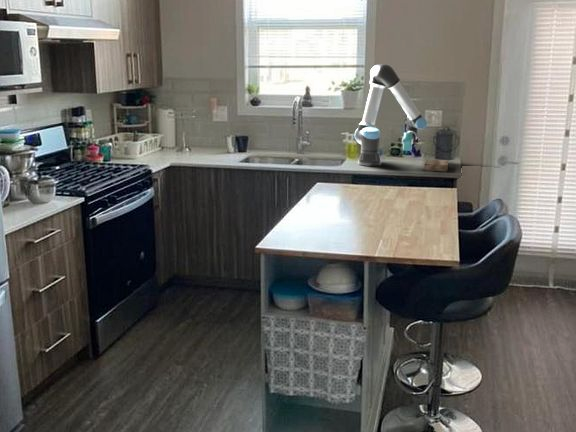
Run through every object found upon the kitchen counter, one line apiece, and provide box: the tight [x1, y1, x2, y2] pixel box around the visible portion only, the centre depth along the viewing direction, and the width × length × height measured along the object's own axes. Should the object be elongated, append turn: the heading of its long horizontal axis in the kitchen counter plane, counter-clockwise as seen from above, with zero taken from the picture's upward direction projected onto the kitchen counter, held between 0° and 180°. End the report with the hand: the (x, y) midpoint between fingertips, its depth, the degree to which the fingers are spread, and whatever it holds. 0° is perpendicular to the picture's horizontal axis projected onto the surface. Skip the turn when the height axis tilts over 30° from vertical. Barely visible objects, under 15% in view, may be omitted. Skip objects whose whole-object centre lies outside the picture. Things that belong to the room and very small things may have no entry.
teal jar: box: [402, 132, 413, 152], centre depth 407 cm, size 6×6×11 cm
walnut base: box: [423, 158, 449, 172], centre depth 405 cm, size 14×18×4 cm
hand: (407, 141), depth 402 cm, fingers closed on teal jar, 5 cm apart
